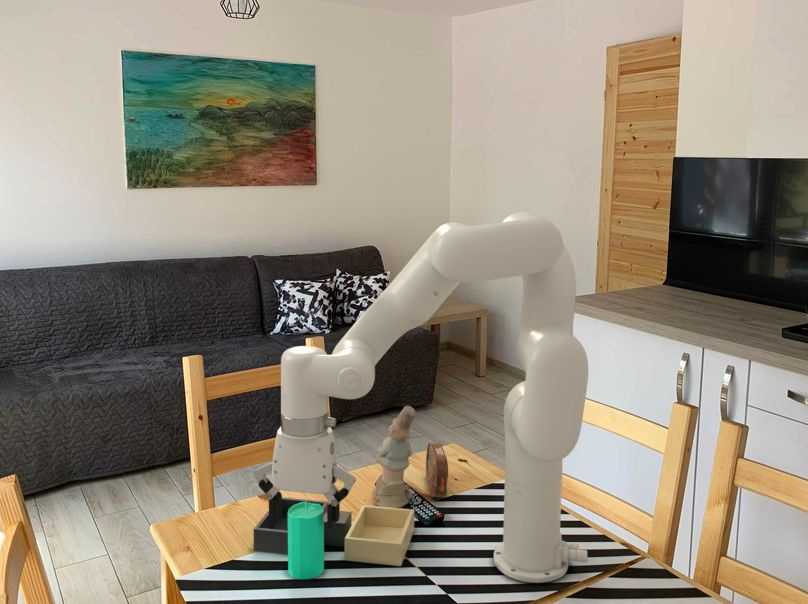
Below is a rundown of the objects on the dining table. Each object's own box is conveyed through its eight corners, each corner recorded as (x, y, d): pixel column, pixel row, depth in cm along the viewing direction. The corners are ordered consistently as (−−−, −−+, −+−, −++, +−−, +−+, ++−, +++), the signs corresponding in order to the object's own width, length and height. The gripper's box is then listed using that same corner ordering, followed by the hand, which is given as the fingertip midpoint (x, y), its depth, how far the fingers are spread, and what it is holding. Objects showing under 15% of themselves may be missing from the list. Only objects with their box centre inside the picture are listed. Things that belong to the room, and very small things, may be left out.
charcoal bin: (328, 521, 135) (328, 501, 135) (307, 556, 123) (307, 534, 123) (279, 516, 137) (279, 496, 136) (253, 550, 125) (253, 529, 124)
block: (351, 534, 130) (351, 511, 130) (344, 547, 126) (344, 523, 126) (328, 532, 131) (327, 509, 131) (320, 545, 127) (320, 521, 126)
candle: (317, 581, 116) (316, 511, 114) (282, 577, 117) (281, 507, 115) (329, 561, 122) (328, 494, 120) (296, 557, 123) (295, 491, 121)
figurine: (420, 506, 142) (421, 409, 139) (380, 513, 138) (380, 414, 136) (403, 487, 150) (404, 395, 147) (365, 494, 147) (365, 400, 144)
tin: (424, 473, 157) (425, 436, 156) (439, 472, 157) (439, 436, 156) (433, 505, 142) (434, 465, 141) (449, 504, 142) (450, 464, 141)
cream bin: (414, 529, 132) (414, 509, 132) (401, 566, 120) (401, 544, 120) (362, 524, 134) (362, 504, 134) (344, 560, 122) (344, 538, 122)
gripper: (361, 419, 118) (360, 516, 120) (263, 410, 121) (263, 506, 123) (349, 435, 111) (348, 539, 113) (244, 426, 114) (245, 527, 116)
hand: (304, 521), depth 118 cm, fingers open, 9 cm apart
